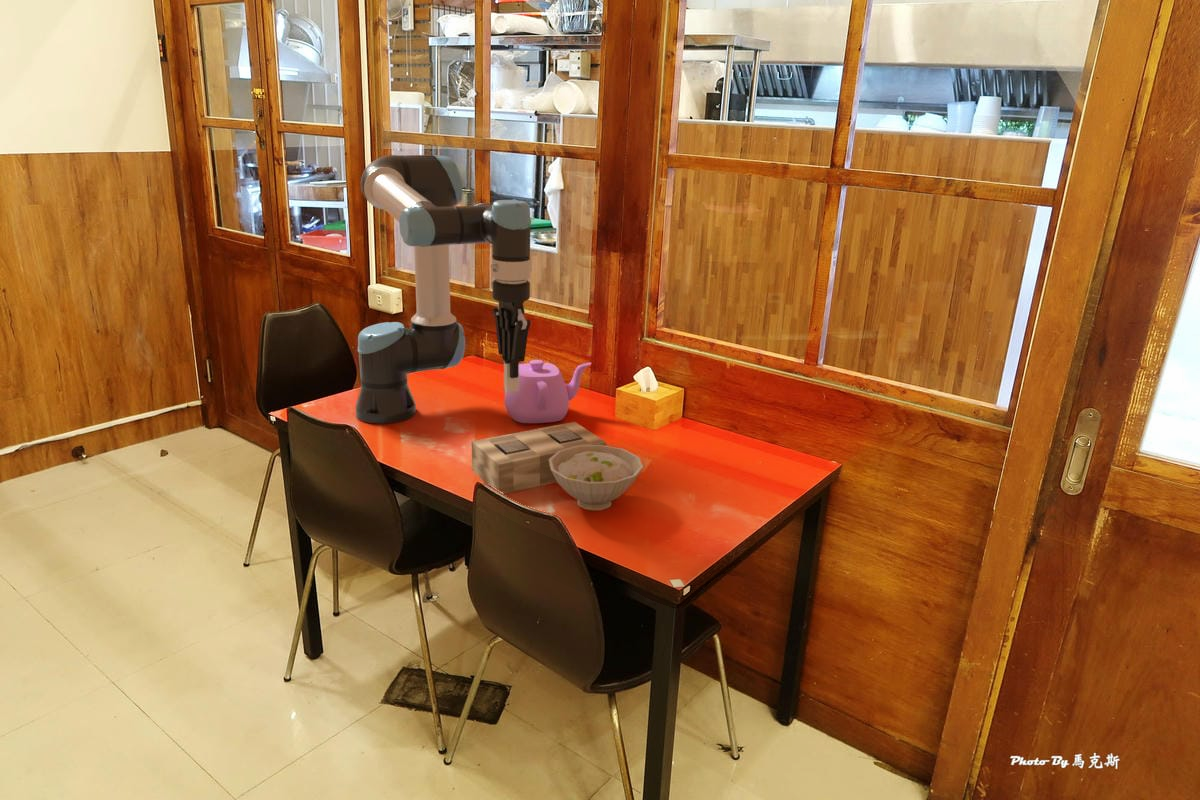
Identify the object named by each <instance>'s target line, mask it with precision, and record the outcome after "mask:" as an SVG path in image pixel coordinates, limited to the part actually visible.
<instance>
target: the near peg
mask: <svg viewBox="0 0 1200 800" xmlns="http://www.w3.org/2000/svg"><path fill="white" fill-rule="evenodd" d="M497 448H498V449H499V450H500V451H501V452H503V453H504V454H505V455H507V454H512V453H517V452H522V451H527V450H528V448H527V447H526V446H525V445H523V444H522V443H521V442H519V441H518V440H516V441H511V442H506V443H501V444H497Z"/></svg>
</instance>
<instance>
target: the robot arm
mask: <svg viewBox="0 0 1200 800" xmlns="http://www.w3.org/2000/svg"><path fill="white" fill-rule="evenodd" d="M360 190H361V192H362V195H363V197H364V198H365V200H366V201H367V202H368V203H370V204H371V206H373V207H374V208H375V209H376V208H377V209H378V210H379V209H380V210H384V211H386V212H387V214H389V215H390V216H391V217H392V218H394V220H396V222H398V223H399V226H398V227H399V231H400V235H401V239H402V241H403V243H404V244H405V245H406V246H408V247H413V251H414V253H413V254H414V257H413V258H414V276H415V277H414V278H415V301H416V307H415V308H416V313H415V314H414V315H413V316H412V317H411V319H410V326H409V327H405V325H404V324H403V323H401V322H398V321H392V322H389V321H387V322H379V323H376V324H372V325H369V326H367V327H365V328H363V329H362V330H361V331H359V334H358V336H357V352H358V364H359V377H360V390H359V394H358V396H357V400H356V404H355V416H356V418H357V419H358V420H360V421H362V422H364V423H370V424H393V423H399V422H402V421H406V420H408V419H411V418H413V417H414V416H415V415H416V414H417V410H416V409H417V407H416V402H415V400H414V397H413V395H412V391H411V389H410V387H409V383H408V374H410V373H411V374H412V373H419V372H425V371H434V370H445V369H447V368H452V367H453V368H454V367H456V366H458V365H459V364H460V362H462V361H463V359H464V358H463V357H464V354H465V351H466V337H465V331H464V328H463V326H462V324H461V323H459V322H458V321H457V317H456V316H455V315H454V314H452V312H451V287H450V286H451V285H450V283H451V282H450V281H451V280H450V279H451V278H450V276H451V275H450V245H470V244H471V245H475V244H491V250H492V251H491V253H492V254H491V258H492V260H491V261H492V264H491V265H490V268H491V270H492V278H493V279H494V280H493V281H492V282H491V283H492V284H491V285H492V290H491V291H492V298H493V300H495V301H497V302H498V306H497V307H492V312H493V316H494V322H495V323H494V324H495V331H496V339H497V349H498V351H497V352H498V354H499V355H501V358H502V360H503V391H504V393H506V392H507V393H508V392H514V391H519V364H520V363H521V362H525V358H526V351H527V342H528V336H529V331H530V326H531V323H532V322H531V320H530V319H526V318H525V308H524V303H525V302H527V301H528V300H530V298H531V283H530V281H529V279H531V229H532V228H531V226H532V219H531V218H532V217H531V209H530V208H531V207H530V205H529V204H530V203H528V202H526V201H524V200H518V199H499V200H498V199H497V200H495V201H493V202H492V203H482V202H480V203H477V204H475V205H460V206H459V205H458V204H460V203H461V202H462V200H463V199H462V197H463V195H464V191H463V190H464V189H463V182H462V177H461V173H460V170H459V168H458V166H457V163H456V162H455V161H454V160H453V159H452V158H451V157H449V156H447V155H438V154H436V155H435V154H413V155H412V154H411V155H407V154H405V155H404V154H403V155H400V154H399V155H398V154H392V155H391V154H390V155H384V156H381V157H379V158H377V159H375V160H373V161H371V163H369V164H368V165H367V166H366V167H365V168H364V170H363V172H362V174H361V177H360ZM457 205H458V206H457Z"/></svg>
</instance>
